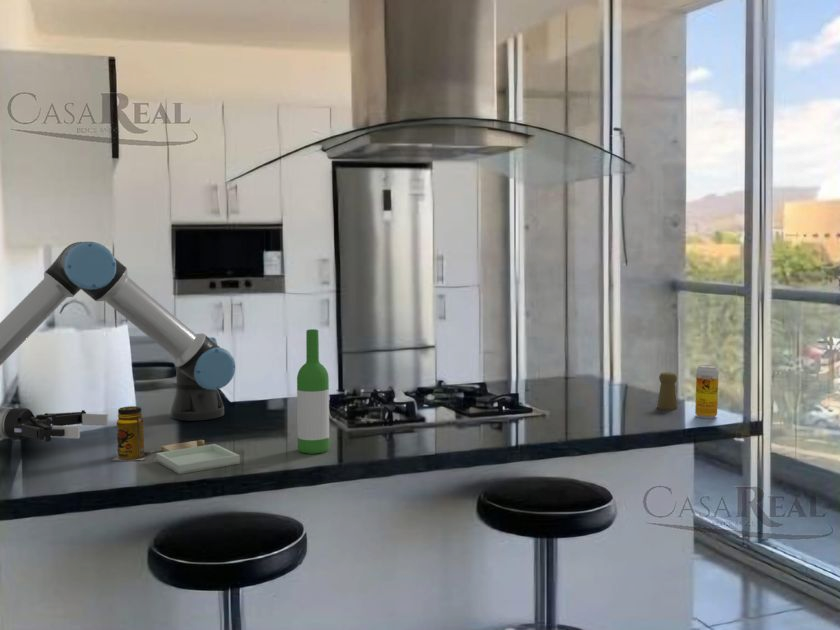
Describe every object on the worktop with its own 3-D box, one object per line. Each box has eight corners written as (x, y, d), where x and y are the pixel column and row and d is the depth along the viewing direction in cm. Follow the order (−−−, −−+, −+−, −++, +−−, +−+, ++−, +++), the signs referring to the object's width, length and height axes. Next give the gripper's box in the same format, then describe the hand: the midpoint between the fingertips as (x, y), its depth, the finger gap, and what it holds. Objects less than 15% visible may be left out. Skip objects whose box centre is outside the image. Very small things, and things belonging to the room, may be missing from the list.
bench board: (195, 444, 214) (195, 434, 214) (209, 450, 208) (208, 440, 208) (161, 450, 209) (161, 440, 209) (173, 456, 203) (173, 446, 202)
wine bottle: (291, 451, 207) (289, 330, 205) (312, 445, 214) (310, 327, 211) (315, 456, 203) (314, 332, 200) (335, 449, 210) (334, 329, 207)
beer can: (695, 418, 247) (696, 367, 245) (695, 413, 252) (696, 364, 251) (717, 419, 245) (719, 368, 244) (716, 415, 251) (718, 365, 249)
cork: (679, 409, 259) (680, 374, 258) (659, 409, 259) (660, 374, 258) (674, 405, 265) (675, 371, 264) (654, 405, 265) (655, 370, 264)
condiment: (111, 461, 199) (109, 410, 198) (124, 451, 207) (122, 403, 206) (142, 461, 199) (141, 411, 198) (154, 452, 207) (152, 403, 206)
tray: (215, 451, 207) (214, 443, 207) (239, 463, 197) (239, 455, 196) (156, 461, 198) (156, 453, 198) (179, 474, 188) (179, 465, 187)
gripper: (41, 427, 219) (118, 429, 216) (-21, 451, 194) (66, 454, 192) (40, 398, 218) (118, 400, 216) (-22, 419, 194) (65, 421, 191)
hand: (94, 426), depth 204 cm, fingers open, 13 cm apart
